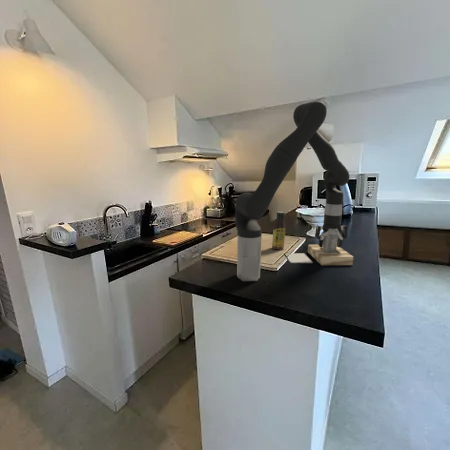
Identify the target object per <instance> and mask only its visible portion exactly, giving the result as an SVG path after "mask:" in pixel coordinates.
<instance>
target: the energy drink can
mask: <svg viewBox="0 0 450 450" xmlns="http://www.w3.org/2000/svg"><path fill="white" fill-rule="evenodd" d="M325 233H326V232H324V234H325ZM337 239H338V231H337V230H336V229H331V230H330V231H328V233H327V236H326V237H324V239H323V252H324V253H336V248H337Z"/></svg>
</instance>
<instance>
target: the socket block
mask: <svg viewBox="0 0 450 450" xmlns="http://www.w3.org/2000/svg"><path fill="white" fill-rule="evenodd" d="M307 253H308V254H309V255H310V256H311V257H312V258H313V259H314V260H315V261H316V262H317V263H318V264H320V265H321V266H353V263H354V256H353V255H352V254H350V253H349V252H348V251H346V250H344V248H342V247H341V246H340V247H337V248H336V253H324V252H323V247H319V245H318V244H308V246H307Z"/></svg>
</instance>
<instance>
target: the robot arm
mask: <svg viewBox="0 0 450 450" xmlns="http://www.w3.org/2000/svg"><path fill="white" fill-rule="evenodd" d="M327 109H328V108H327V105H326V104H325V103H324V102H323V101H317V100H315V101H314V100H313V101H309V102H307V103H302V104H300V105H297V106H296V107H295V109H294V111H293V115H292V116H293V117H292V119H293V122H294V124H295V126H296V128H295V130H293V131H292V132H291V133H290V134H289V135H288V136H287V137H285V138H284V139H283V140H281V141H280V142H279V143H278V144H277V145H276V146H275V148H274V149H273V150H272V152H271V154H270V155H269V157H268V158H267V160H266V163H265V167H264V174H263V178H262V179H261V181H260V183H259V185H258V186H257V188H256V189H255V191H254V192H253V193H252V192H243V193H240V194H239V195H238V197H237V198H236V201H235V206H234V209H235V210H234V212H235V213H234V215H235V227H236V230H237V246H236V247H237V250H236V251H237V252H236V253H237V254H236V258H237V259H236V277H237V278H238V279H239V280H240V281H241V282H258V281H259V279H260V278H261V259H262V257H261V255H262V232H263V231H262V228H261V226H260V225H259V223H258V221H257V220H258V219H260V218H262V217H263V216H264V215H265V213H266V212H267V210H268V208H269V206H270V204H271V202H272V201H273V199H274V196H275V194H276V193H277V191H278V189H279V187H280V186H281V185H282V183H283V182H284V180H285V178H286V176H287V175H288V173H289V172H290V171H291V170H292V167H293V166H294V165H295V163H296V162H297V159H298V157H299V156H300V154H301V153H302V152H303V150H304V149H305V148H306V146H307V144H309V146H310V147H311V148H312V150H313V152H314V153H315V155H316V157H317V160H318V161H319V163H320V165H321V167H322V169H323V170H324V171H326V172H325V174H324V176H323V183H324V187H325V194H326V198H325V205H324V211H323V212H324V213H323V223H322V225H318V224H317V225H316V226H315V233H314V238H316V239H317V240H318V243H317V245H319V247H323V241H324V237H326V236H327V233H328V231H330V230H331V229H336V230H337V231H338V239H337V247H340V248H341V247H342V245H343V240H344V239H347V238H348V226H346V225H341V224H342V215H343V203H344V202H343V199H344V192H343V191H341V190H339V189H337V186H342V187H343V186H345V185H347V184H348V183H349V181H350V172H349V170H348V169H347V168H346V166H345V165H344V164H343V163H342V162H341V161H340V160H339V158H338V157H339V156H338V154H337V153H336V151H335V148H334V146H333V145H332V144H331V143H330V142H329V141H328V140H327V139H326V138H325V137H324V136H323V135H322V134H321V133H320V132H319V129H320V128H321V127H322V125H323V123H324V122H325V120H326V117H327ZM340 230H341V232H340ZM324 232H326V233H325V234H324Z"/></svg>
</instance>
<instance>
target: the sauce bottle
mask: <svg viewBox="0 0 450 450" xmlns="http://www.w3.org/2000/svg"><path fill="white" fill-rule="evenodd" d="M275 220H276V221H275V222H274V223H273V229H272V231H273V232H272V241H271V245H272V247H271V248H272V249H273V250H275V249H282V250H284V247H285V239H286V238H285V237H286V223H285V211H276V219H275Z"/></svg>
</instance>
